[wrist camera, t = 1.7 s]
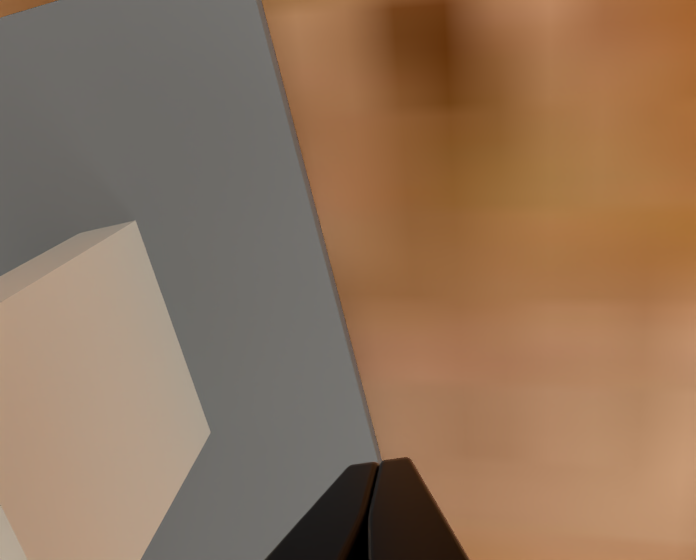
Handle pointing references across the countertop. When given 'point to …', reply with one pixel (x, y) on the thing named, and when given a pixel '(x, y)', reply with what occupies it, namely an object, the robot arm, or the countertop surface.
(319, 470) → the mat
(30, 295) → the tile
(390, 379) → the countertop surface
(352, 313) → the countertop surface
